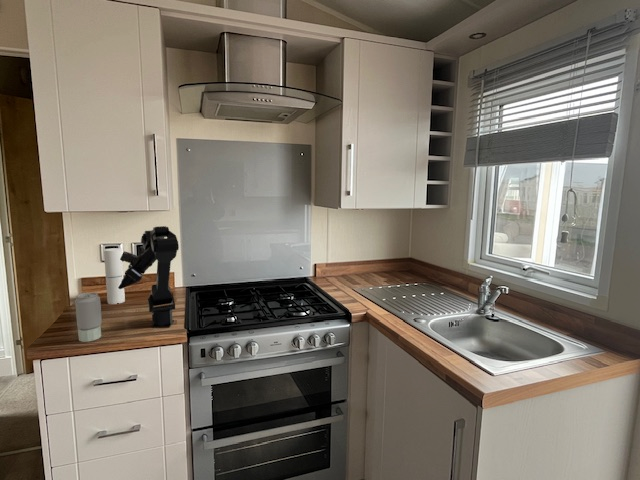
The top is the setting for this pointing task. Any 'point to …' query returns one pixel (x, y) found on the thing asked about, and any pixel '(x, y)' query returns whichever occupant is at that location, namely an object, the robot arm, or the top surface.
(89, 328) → the can
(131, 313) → the top surface
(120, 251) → the cylindrical container
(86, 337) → the bowl
